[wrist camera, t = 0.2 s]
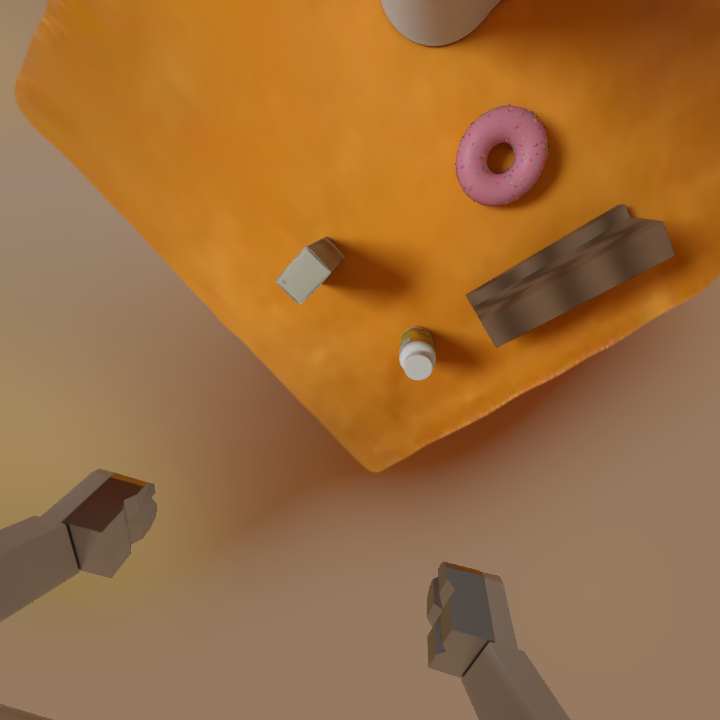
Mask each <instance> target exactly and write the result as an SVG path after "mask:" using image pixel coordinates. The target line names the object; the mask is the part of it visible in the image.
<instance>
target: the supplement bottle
mask: <svg viewBox="0 0 720 720" xmlns="http://www.w3.org/2000/svg"><path fill="white" fill-rule="evenodd" d="M399 359H400V364H401V366H402V368H403V369H404V371H405V373H406V375H407V376H408V377H409V378H411V379H414V380H423V379H425V378H427V377H428V376H429V375H430V374H431V372H432V369H433V367H434V365H435V363H436V353H435V347H434V341H433V337H432V335H431V333H430V332H429V331H428V330H427V329H425V328H422V327H412V328H409V329H408V330H406V331H405V332H404V333H403V335H402V337H401V340H400V357H399Z"/></svg>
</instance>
